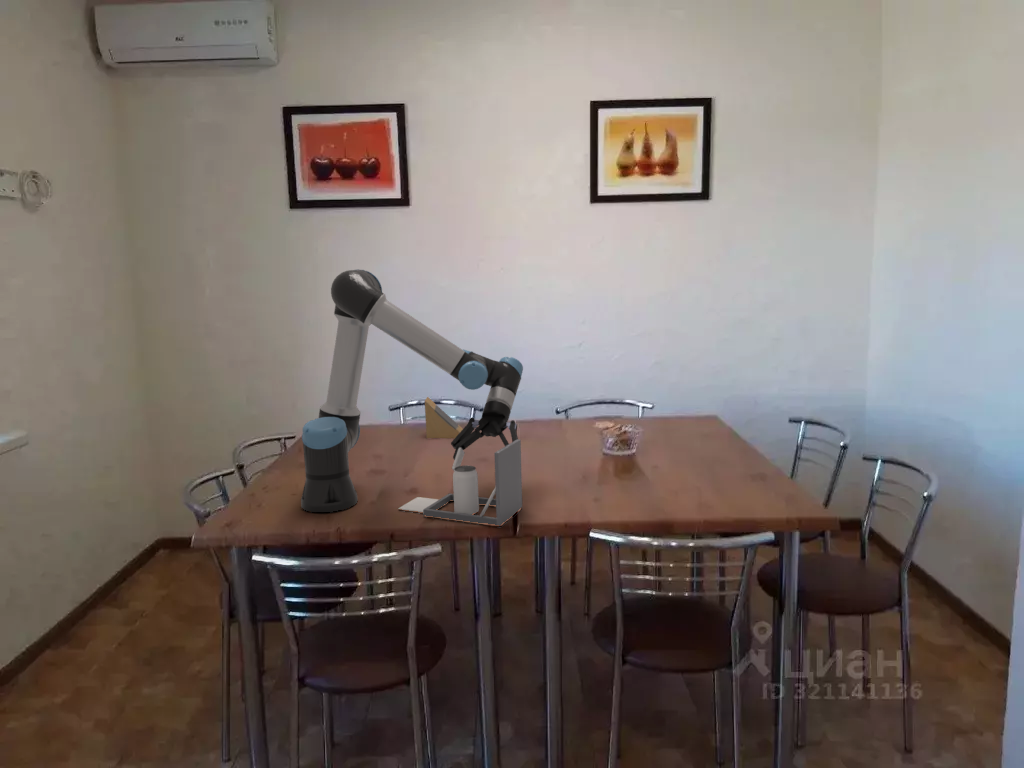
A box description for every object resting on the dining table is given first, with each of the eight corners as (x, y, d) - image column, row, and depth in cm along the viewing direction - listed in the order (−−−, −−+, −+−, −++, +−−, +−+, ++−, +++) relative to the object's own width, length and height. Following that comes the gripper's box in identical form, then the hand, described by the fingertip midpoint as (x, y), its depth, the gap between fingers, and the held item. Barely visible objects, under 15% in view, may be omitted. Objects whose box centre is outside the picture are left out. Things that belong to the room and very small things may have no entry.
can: (449, 512, 188) (447, 468, 186) (467, 506, 192) (466, 463, 190) (465, 518, 183) (463, 473, 181) (484, 511, 187) (482, 467, 185)
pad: (398, 510, 190) (398, 508, 190) (417, 498, 199) (417, 496, 199) (424, 514, 187) (424, 511, 187) (442, 502, 196) (442, 500, 196)
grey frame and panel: (423, 517, 185) (420, 446, 182) (449, 500, 197) (446, 433, 194) (500, 527, 176) (498, 453, 173) (522, 509, 189) (520, 439, 185)
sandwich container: (467, 438, 268) (465, 399, 265) (426, 439, 268) (424, 400, 265) (468, 432, 276) (466, 395, 274) (428, 434, 276) (426, 396, 274)
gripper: (543, 416, 199) (524, 484, 188) (463, 411, 208) (441, 475, 197) (535, 401, 193) (516, 470, 182) (454, 397, 203) (431, 462, 192)
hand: (477, 473), depth 190 cm, fingers open, 13 cm apart
